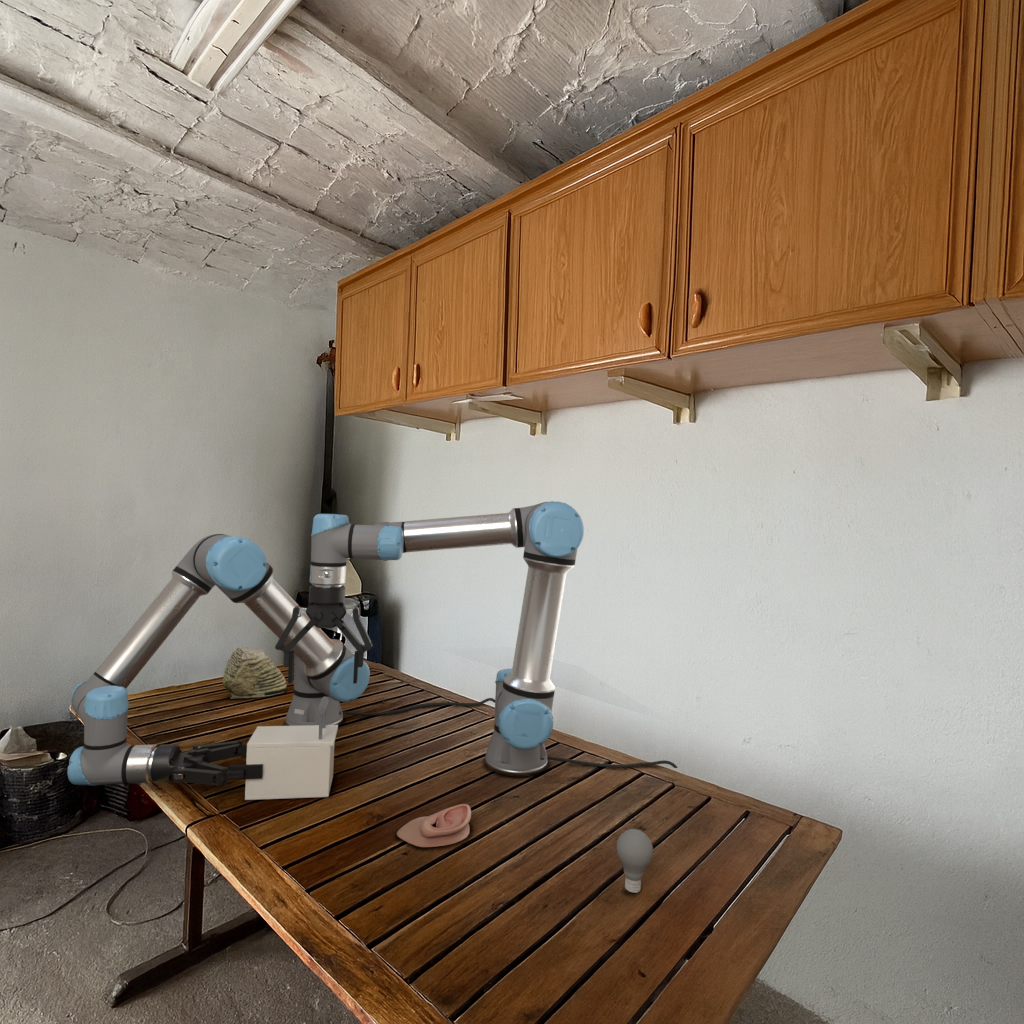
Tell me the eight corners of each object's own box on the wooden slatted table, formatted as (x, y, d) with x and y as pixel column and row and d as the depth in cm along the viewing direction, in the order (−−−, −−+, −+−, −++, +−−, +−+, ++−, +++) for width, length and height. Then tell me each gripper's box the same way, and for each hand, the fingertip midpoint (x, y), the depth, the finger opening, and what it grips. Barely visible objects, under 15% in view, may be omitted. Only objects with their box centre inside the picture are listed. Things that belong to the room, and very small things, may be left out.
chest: (333, 776, 144) (335, 728, 144) (328, 796, 134) (330, 746, 134) (255, 778, 141) (257, 730, 141) (244, 800, 131) (246, 748, 131)
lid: (338, 728, 144) (339, 694, 144) (333, 746, 134) (335, 709, 134) (257, 730, 141) (258, 695, 140) (246, 748, 131) (248, 710, 130)
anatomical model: (391, 821, 117) (413, 793, 128) (390, 842, 117) (412, 813, 128) (460, 832, 114) (476, 802, 125) (459, 853, 114) (475, 822, 126)
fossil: (218, 695, 195) (220, 647, 195) (278, 685, 208) (279, 640, 207) (228, 703, 189) (230, 653, 188) (289, 692, 201) (290, 645, 201)
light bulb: (610, 879, 108) (613, 822, 108) (644, 879, 109) (647, 822, 109) (619, 902, 102) (622, 840, 102) (655, 901, 103) (658, 840, 103)
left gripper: (173, 759, 144) (276, 756, 148) (132, 807, 121) (255, 802, 125) (175, 726, 143) (277, 724, 147) (134, 769, 121) (256, 765, 125)
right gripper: (263, 585, 132) (259, 687, 132) (385, 588, 136) (381, 686, 137) (270, 581, 139) (266, 677, 139) (386, 583, 144) (381, 676, 144)
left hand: (267, 760), depth 136 cm, fingers closed on chest, 10 cm apart
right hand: (323, 682), depth 138 cm, fingers open, 13 cm apart
